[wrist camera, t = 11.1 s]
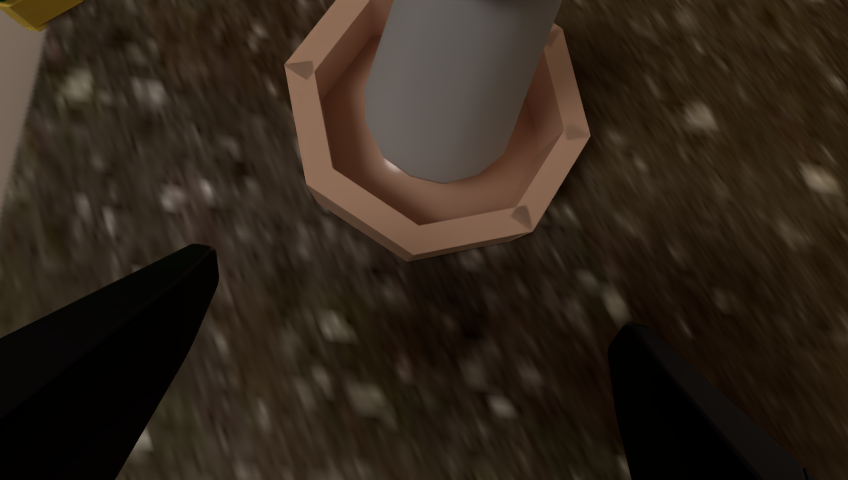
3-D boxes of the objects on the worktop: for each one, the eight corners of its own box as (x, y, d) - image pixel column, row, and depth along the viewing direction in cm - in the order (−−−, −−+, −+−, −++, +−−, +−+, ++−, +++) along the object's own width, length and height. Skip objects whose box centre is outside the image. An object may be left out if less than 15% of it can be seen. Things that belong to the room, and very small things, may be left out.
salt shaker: (467, 218, 18) (702, 23, 5) (343, 163, 18) (260, -195, 5) (515, 102, 19) (815, -307, 6) (399, 47, 19) (454, -506, 6)
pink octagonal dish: (331, 277, 17) (322, 273, 15) (285, 33, 19) (269, -16, 16) (575, 228, 19) (612, 215, 16) (518, 6, 20) (543, -44, 17)
